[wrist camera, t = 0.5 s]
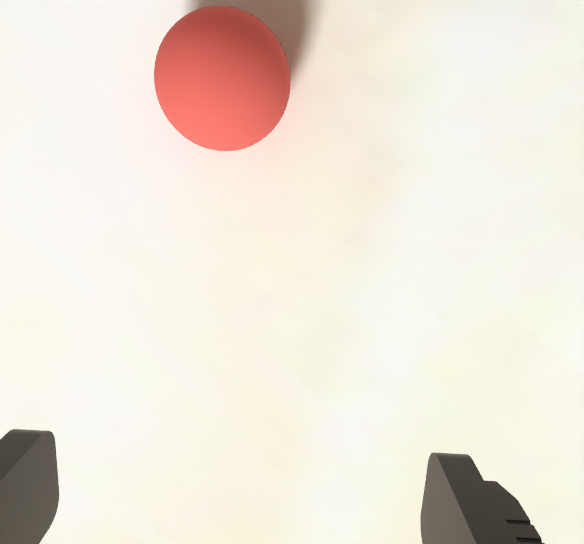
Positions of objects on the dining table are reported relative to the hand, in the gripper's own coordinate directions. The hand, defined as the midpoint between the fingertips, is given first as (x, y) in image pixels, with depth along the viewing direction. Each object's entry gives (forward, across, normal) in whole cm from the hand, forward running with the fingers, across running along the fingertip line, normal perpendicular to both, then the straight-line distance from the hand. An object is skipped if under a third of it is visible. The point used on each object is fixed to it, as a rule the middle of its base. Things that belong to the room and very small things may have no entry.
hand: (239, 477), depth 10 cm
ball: (+14, +3, -10) cm, 17 cm away
